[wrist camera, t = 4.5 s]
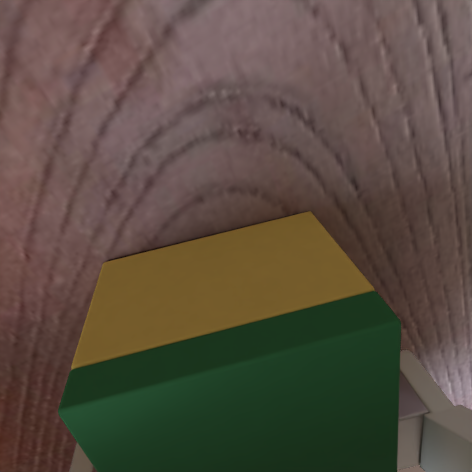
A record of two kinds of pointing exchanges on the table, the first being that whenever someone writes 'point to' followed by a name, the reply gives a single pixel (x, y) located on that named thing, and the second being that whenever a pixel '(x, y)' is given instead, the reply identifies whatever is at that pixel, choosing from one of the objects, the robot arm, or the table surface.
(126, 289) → the sponge
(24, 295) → the table surface
